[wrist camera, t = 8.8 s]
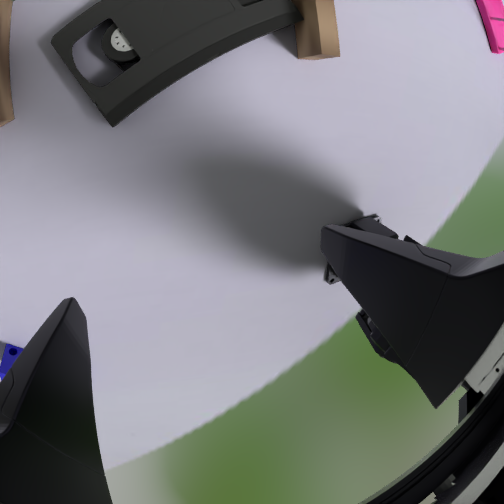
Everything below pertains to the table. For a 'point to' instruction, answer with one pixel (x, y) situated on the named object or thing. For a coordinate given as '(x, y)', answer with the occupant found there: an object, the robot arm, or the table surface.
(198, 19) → the vhs tape
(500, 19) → the file sorter
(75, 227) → the table surface
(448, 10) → the table surface
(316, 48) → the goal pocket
